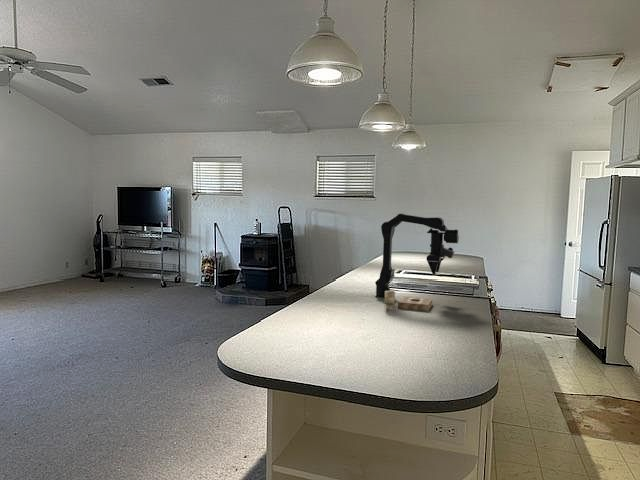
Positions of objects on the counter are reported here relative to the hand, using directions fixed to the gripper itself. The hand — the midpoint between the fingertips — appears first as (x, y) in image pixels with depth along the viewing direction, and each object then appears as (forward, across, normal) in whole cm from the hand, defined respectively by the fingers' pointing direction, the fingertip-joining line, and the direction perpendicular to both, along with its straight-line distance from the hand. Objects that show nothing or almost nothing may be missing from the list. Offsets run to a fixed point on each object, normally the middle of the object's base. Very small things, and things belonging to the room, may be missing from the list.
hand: (435, 273), depth 226 cm
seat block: (+14, -16, +6) cm, 22 cm away
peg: (+14, -28, +16) cm, 35 cm away
